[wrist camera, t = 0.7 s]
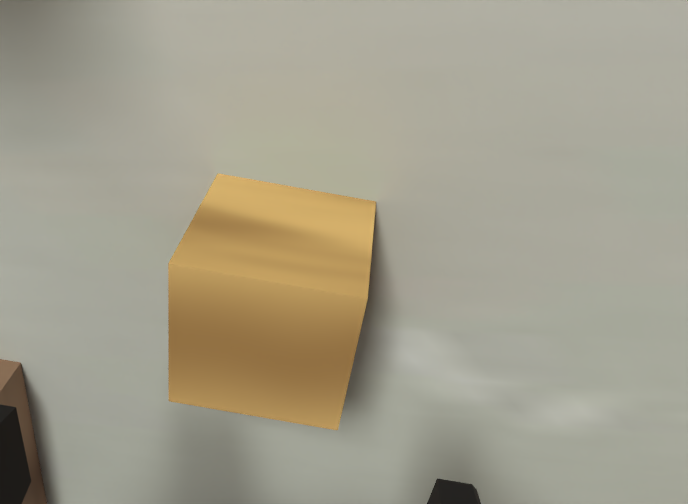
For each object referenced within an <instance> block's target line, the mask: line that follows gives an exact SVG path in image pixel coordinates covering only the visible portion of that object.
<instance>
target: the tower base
mask: <svg viewBox="0 0 688 504" xmlns="http://www.w3.org/2000/svg"><path fill="white" fill-rule="evenodd" d="M0 404H1V405H6V406H12V407H16V409H17V414H18V419H19V423H20V428H21V433H22V438H23V443H24V448H25V452H26V457H27V462H28V467H29V472H30V477H31V483H30V486H29V488H28V490H27V493H26V495H25V497H24V500H23V502H22V504H47V501H46V495H45V490H44V485H43V479H42V474H41V469H40V463H39V458H38V452H37V447H36V442H35V436H34V431H33V426H32V420H31V415H30V410H29V404H28V399H27V394H26V388H25V383H24V378H23V372H22V367H21V363H19V362H13V361H8V360H2V359H0Z"/></svg>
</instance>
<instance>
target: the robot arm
mask: <svg viewBox="0 0 688 504" xmlns="http://www.w3.org/2000/svg"><path fill="white" fill-rule="evenodd" d="M30 483H31V477H30V472H29V467H28V462H27V457H26V452H25V448H24V443H23V438H22V433H21V428H20V423H19V419H18V414H17V409H16V407H12V406H6V405H1V404H0V504H22V502H23V500H24V497H25V495H26V493H27V490H28V488H29V486H30ZM427 504H481V503H480V499H479V496H478V493H477V490H476V489H475V487H474V486H473V485H472V484H466V483H460V482H454V481H448V480H442V479H437V480H436V483H435V485H434V488H433V490H432V493H431V495H430V498H429V500H428V503H427Z"/></svg>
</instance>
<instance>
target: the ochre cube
mask: <svg viewBox="0 0 688 504" xmlns="http://www.w3.org/2000/svg"><path fill="white" fill-rule="evenodd" d="M375 208H376V202H375V201H369V200H364V199H358V198H353V197H347V196H341V195H336V194H330V193H325V192H319V191H313V190H308V189H302V188H296V187H291V186H285V185H280V184H274V183H268V182H263V181H257V180H252V179H246V178H240V177H235V176H229V175H223V174H217V176H216V178H215V179H214V181H213V183H212V185H211V187H210V189H209V190H208V192H207V194H206V196H205V198H204V200H203V201H202V203H201V205H200V207H199V209H198V210H197V212H196V214H195V216H194V218H193V220H192V221H191V223H190V225H189V227H188V229H187V231H186V232H185V234H184V236H183V238H182V240H181V242H180V243H179V245H178V247H177V249H176V251H175V252H174V254H173V256H172V258H171V260H170V262H169V263H168V270H169V401H171V402H177V403H182V404H188V405H194V406H200V407H206V408H211V409H217V410H223V411H229V412H235V413H240V414H246V415H252V416H258V417H264V418H269V419H275V420H281V421H287V422H293V423H298V424H304V425H310V426H316V427H322V428H327V429H333V430H338V427H339V423H340V418H341V414H342V409H343V405H344V401H345V396H346V392H347V387H348V383H349V379H350V374H351V370H352V365H353V361H354V357H355V352H356V348H357V344H358V339H359V335H360V330H361V326H362V322H363V317H364V313H365V308H366V304H367V300H368V290H369V278H370V266H371V255H372V243H373V231H374V220H375Z"/></svg>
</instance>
